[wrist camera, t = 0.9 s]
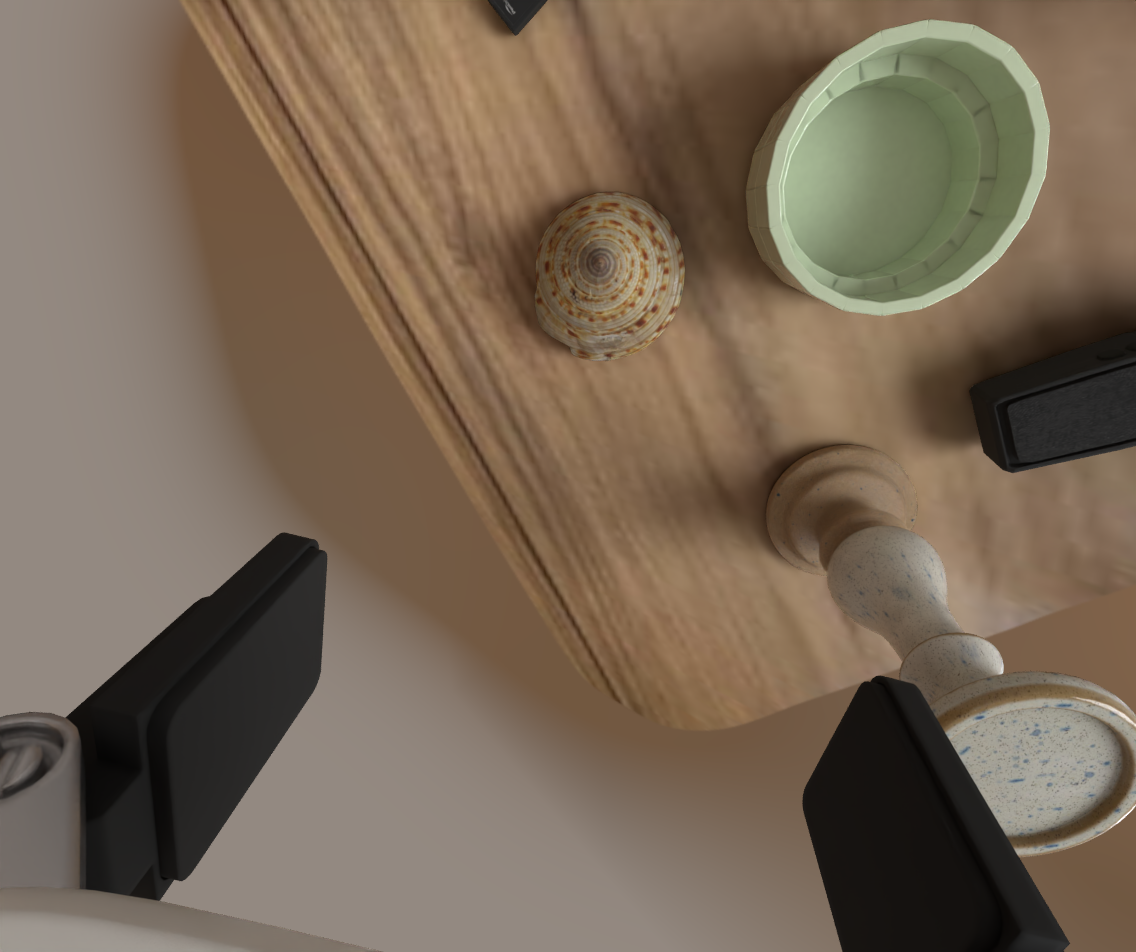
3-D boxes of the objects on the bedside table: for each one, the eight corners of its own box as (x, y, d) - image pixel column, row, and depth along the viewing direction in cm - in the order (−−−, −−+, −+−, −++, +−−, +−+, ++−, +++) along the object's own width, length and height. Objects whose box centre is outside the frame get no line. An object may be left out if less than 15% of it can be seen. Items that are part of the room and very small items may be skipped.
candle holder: (738, 492, 39) (834, 748, 20) (869, 415, 36) (1121, 627, 17) (807, 591, 41) (952, 902, 22) (936, 525, 38) (1223, 817, 20)
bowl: (881, -2, 28) (940, -55, 23) (1021, 179, 31) (1105, 171, 25) (699, 192, 32) (713, 187, 27) (835, 341, 35) (873, 364, 29)
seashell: (519, 359, 34) (528, 219, 29) (538, 307, 38) (550, 175, 33) (662, 387, 34) (701, 252, 28) (667, 332, 38) (702, 203, 32)
